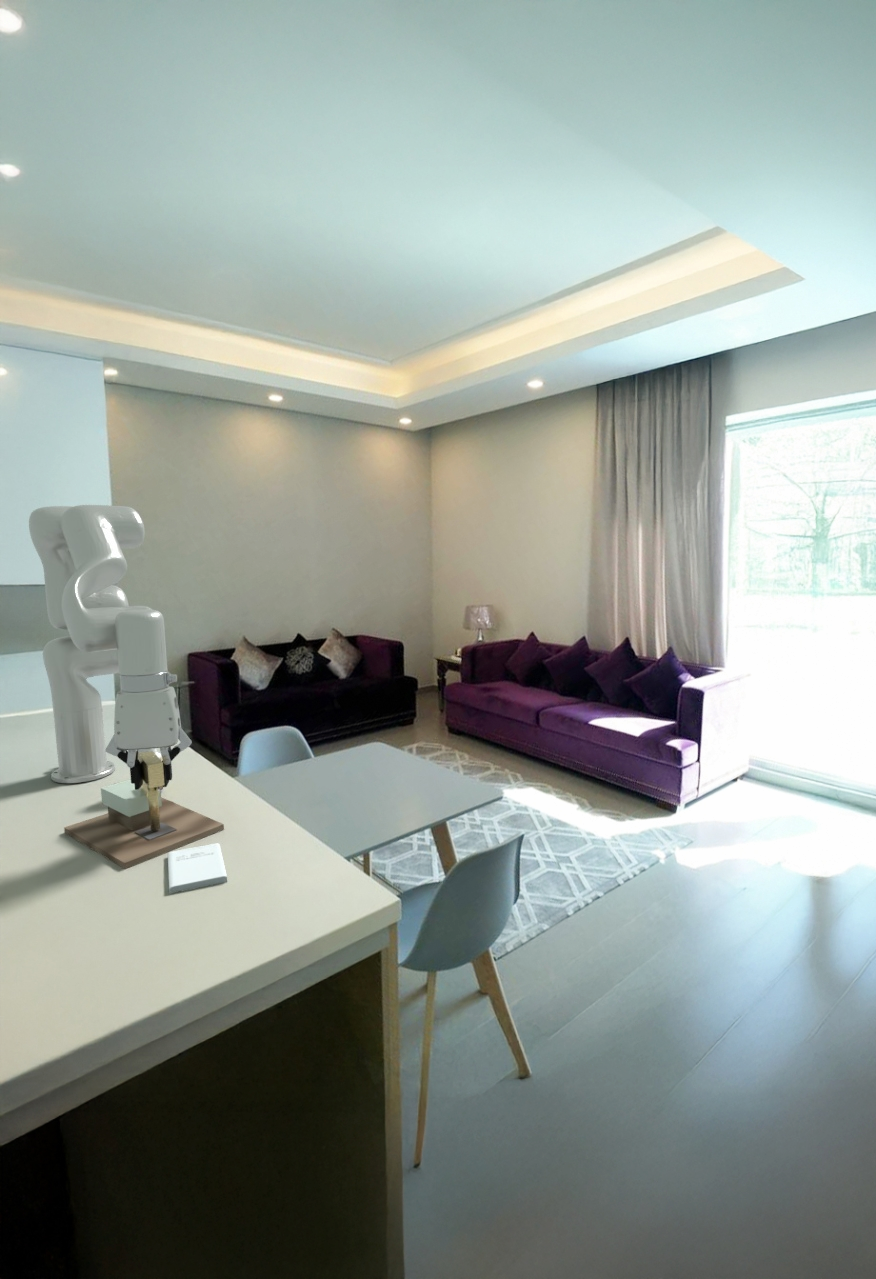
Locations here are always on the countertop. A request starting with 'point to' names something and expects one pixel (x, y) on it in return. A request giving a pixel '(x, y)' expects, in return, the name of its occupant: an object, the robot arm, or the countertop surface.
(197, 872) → the external hard drive
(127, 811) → the mint green block
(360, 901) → the countertop surface
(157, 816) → the key
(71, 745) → the robot arm
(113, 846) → the base
